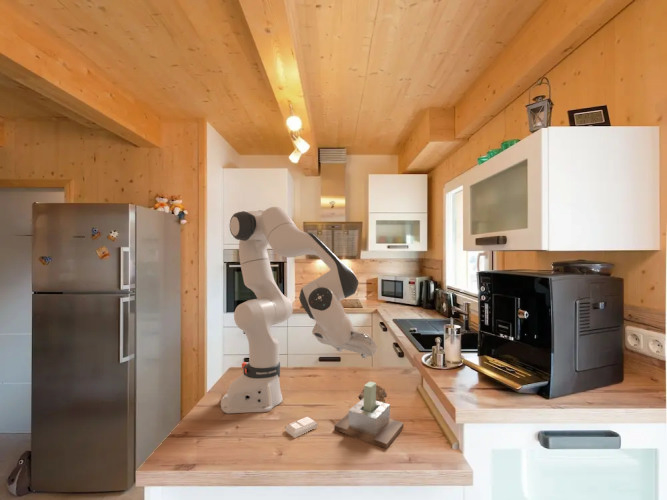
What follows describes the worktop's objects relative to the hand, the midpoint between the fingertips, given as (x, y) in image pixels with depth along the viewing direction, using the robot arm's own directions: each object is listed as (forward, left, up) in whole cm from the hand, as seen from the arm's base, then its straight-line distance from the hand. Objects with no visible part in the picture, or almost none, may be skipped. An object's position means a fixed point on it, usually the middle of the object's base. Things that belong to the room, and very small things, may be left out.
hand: (352, 352), depth 110 cm
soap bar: (-16, +2, -25) cm, 30 cm away
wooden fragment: (+17, +18, -25) cm, 35 cm away
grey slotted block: (+5, -4, -23) cm, 23 cm away
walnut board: (+5, -4, -24) cm, 25 cm away
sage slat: (+5, -4, -22) cm, 22 cm away
